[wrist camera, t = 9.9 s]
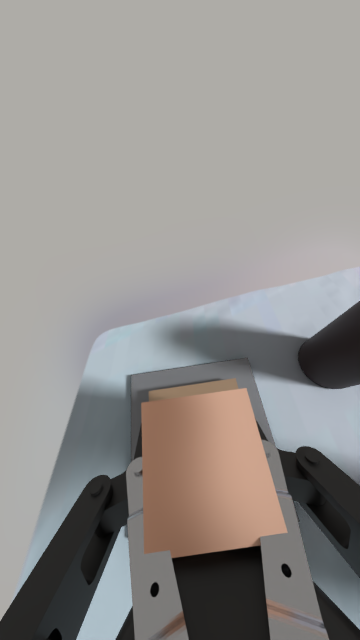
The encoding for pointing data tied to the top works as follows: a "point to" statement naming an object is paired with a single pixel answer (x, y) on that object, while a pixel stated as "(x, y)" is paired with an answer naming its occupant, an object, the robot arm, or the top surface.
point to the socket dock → (195, 389)
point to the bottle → (334, 352)
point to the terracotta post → (205, 476)
